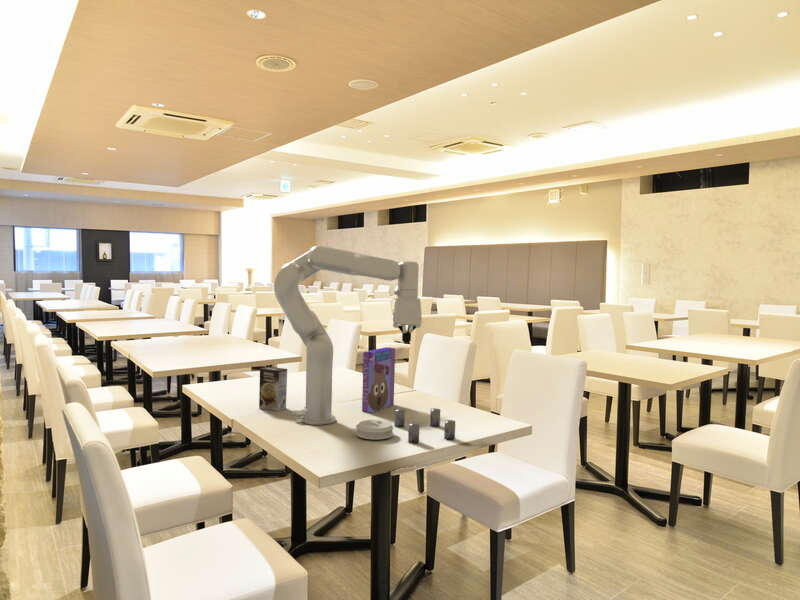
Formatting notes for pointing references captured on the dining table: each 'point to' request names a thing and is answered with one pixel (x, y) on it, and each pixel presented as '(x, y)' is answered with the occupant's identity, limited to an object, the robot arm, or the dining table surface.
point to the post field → (414, 427)
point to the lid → (374, 429)
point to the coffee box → (273, 388)
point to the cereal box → (378, 379)
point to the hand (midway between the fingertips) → (406, 343)
